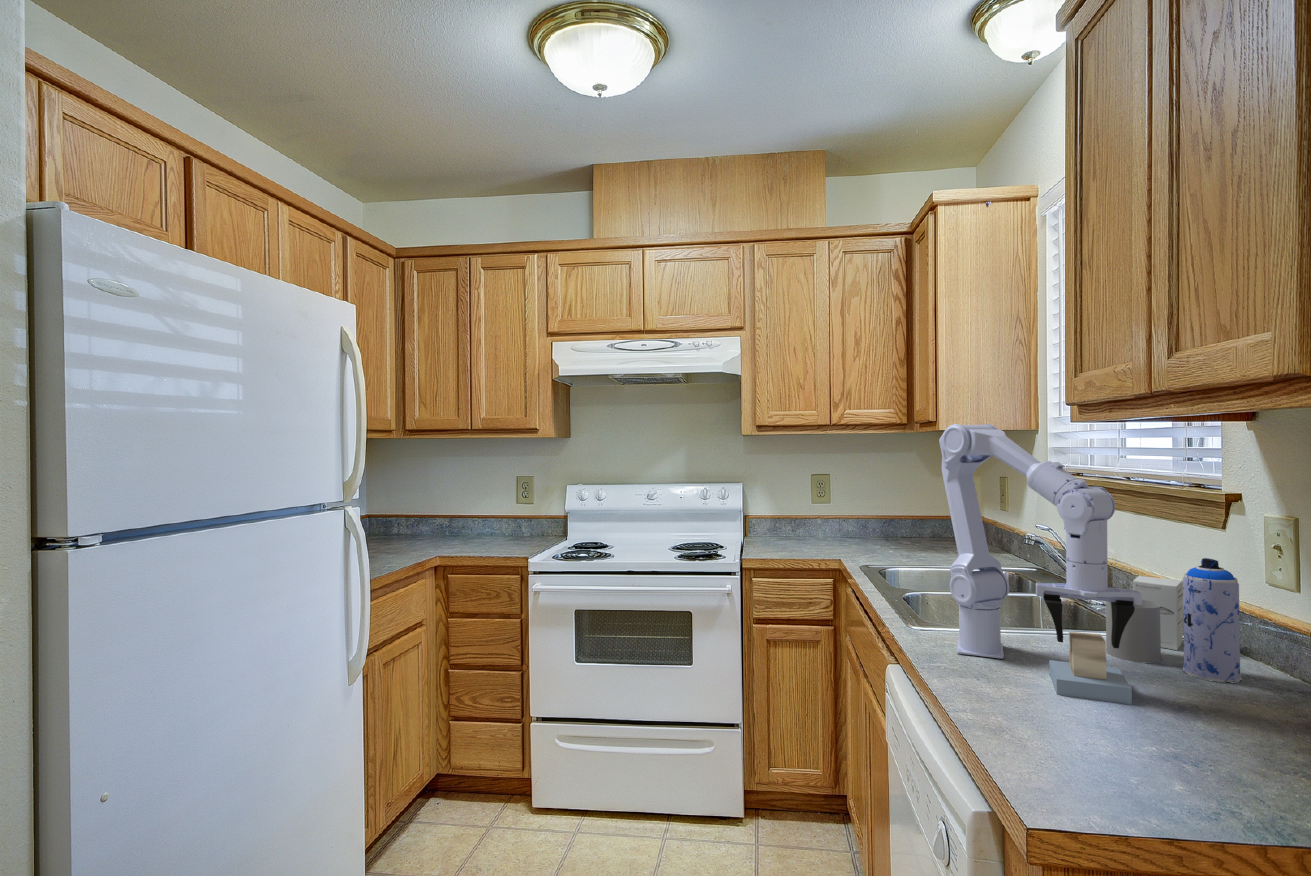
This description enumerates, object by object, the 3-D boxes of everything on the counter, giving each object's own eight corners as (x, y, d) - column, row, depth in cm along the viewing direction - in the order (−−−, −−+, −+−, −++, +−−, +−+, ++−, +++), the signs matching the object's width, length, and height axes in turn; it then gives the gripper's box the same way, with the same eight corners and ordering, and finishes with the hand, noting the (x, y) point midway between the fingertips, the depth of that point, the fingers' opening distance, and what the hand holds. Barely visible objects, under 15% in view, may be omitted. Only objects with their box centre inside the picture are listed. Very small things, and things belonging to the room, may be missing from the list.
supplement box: (1131, 643, 133) (1130, 580, 133) (1139, 635, 138) (1138, 574, 138) (1178, 651, 127) (1177, 585, 127) (1184, 642, 133) (1183, 579, 133)
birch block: (1069, 667, 112) (1068, 631, 112) (1101, 670, 110) (1100, 634, 110) (1073, 675, 108) (1072, 639, 108) (1106, 679, 106) (1105, 641, 106)
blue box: (1049, 677, 116) (1049, 660, 116) (1118, 685, 112) (1117, 667, 112) (1056, 697, 107) (1056, 679, 107) (1131, 707, 103) (1131, 688, 103)
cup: (1163, 665, 120) (1162, 610, 120) (1107, 658, 124) (1107, 604, 124) (1157, 652, 127) (1156, 600, 127) (1105, 646, 131) (1104, 595, 131)
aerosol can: (1178, 664, 120) (1176, 554, 120) (1234, 671, 116) (1232, 557, 116) (1188, 678, 113) (1186, 561, 113) (1248, 686, 109) (1246, 564, 109)
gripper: (1037, 561, 109) (1038, 644, 109) (1145, 568, 102) (1146, 656, 102) (1034, 554, 115) (1035, 633, 115) (1136, 561, 109) (1136, 643, 109)
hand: (1087, 643), depth 109 cm, fingers open, 7 cm apart
